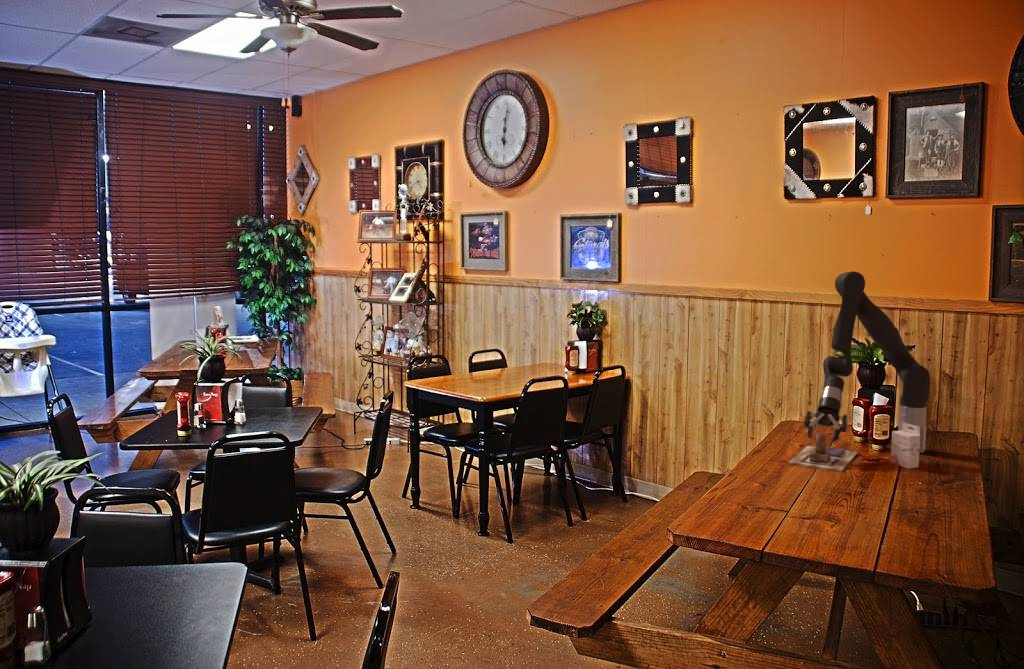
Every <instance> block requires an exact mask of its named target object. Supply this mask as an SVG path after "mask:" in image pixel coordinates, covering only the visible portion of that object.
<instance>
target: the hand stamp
mask: <svg viewBox="0 0 1024 669" xmlns="http://www.w3.org/2000/svg"><path fill="white" fill-rule="evenodd" d="M815 447H816V448H815V450H813V451H812V452H811V453H810V459H809V461H811V462H818V463H825V464H827V463H828V462H829V461H830V460H831V452H825V451H826V447H827V434H824V433H816V434H815Z"/></svg>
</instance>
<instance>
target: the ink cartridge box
mask: <svg viewBox="0 0 1024 669" xmlns="http://www.w3.org/2000/svg"><path fill="white" fill-rule="evenodd" d="M908 427H912V428H914V430H912V429H908ZM919 449H920V427H919V426H915V425H911V424H908V423H904V422H902V430H899V431H898V430H893V431H892V430H891V443H890V461H889V462H890V464H894V465H896V466H899V467H902V468H906V469H909V470H910V469H916V468H919V464H920V462H919V461H920V453H919Z"/></svg>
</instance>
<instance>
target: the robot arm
mask: <svg viewBox="0 0 1024 669" xmlns="http://www.w3.org/2000/svg"><path fill="white" fill-rule="evenodd" d="M865 279H866V278H865V277H864V275H863V274H862V273H860V272H858V271H847V272H846V271H845V272H842V273H840V274H838V275H837V277H836V278H835V281H834V288H835V290H836V292H837V293H838V295H839V296H840V297H841V305H840V310H839V313H838V315H837V317H836V321H835V323H834V327H833V331H832V337H831V343H830V344H831V345H830V346H831V347H830V348H831V349H832V350H834V351H836V352H840V353H842V354H843V357H842V356H841V357H840V356H834V355H829V356H827V357H825V358H824V360H823V363H822V366H823V376H824V379H823V380H824V382H823V387H822V391H821V394H820V398H819V401H818V406H817V410H816V412H815V413H814V412H811V411H810V410H809V411H807V412H806V415H805V420H804V421H803V423H804V427H805V429H807V433H806V434H807V436H808V438H809V439H812V438H813V434H814V429H815V428H818V427H820V426H822V427H833V429H834V435H833V442H837V441H838V440H839V439H840V435H841V433H846V432H847V426H848V416H847V414H843V415H840V411H841V406H842V403H843V393H844V392H843V391H844V388H845V380H844V379H843V378H842V377H845V378H847V377H850V376H851V375H852V373H853V372H854V371H853V370H854V365H853V359H852V342H853V336H854V331H855V330H854V329H855V323H856V317H857V318H858V320H859V321H860V323H861V324H862V326H863V328H864V330H866V332H867V334H868V335H869V336H870V338H871V339H872V341H873V342H874V343H875V344H876V346H877V347H878V349H879V350H881V352H882V353H883V354H884V355H885V356H886V357H887V359H888V360H889V362H890V363H891V364H892V366H893V367H894V370H895V371H896V373H897V375H898V378H899V379H900V381H901V382H902V384H903V385H902V393H901V396H900V398H899V409H898V411H899V412H898V427H897V429H898V430H897V431H899V430H902V422H904V423H908V424H911V425H915V426H919V427H920V449H919V454H923V453H924V452H925V451H926V439H927V438H926V436H927V425H926V423H927V410H928V409H927V408H928V407H927V406H928V405H927V404H928V400H929V398H930V387H931V374H930V372H929V370H928V369H927V367H925V366H923V365H921V364H920V363H919V362H918V361H917V360H916V359H915V358H914V356H913V355H912V354H911V353H910V352H909V350H908V349H907V347H906V345H905V343H904V340H903V338H902V335H901V334H900V332H899V330H898V329H897V327H896V325H895V324H894V322H893V321H892V320H891V318H890V317H889V316H888V315H887V314H886V313H885V312H884V311H883V310H882V309H881V308H880V307H879V306H877V305H876V304H875V303H874V302H873V301H872V300H871V299H870V298H869V297H868V295H867V293H866V292H865V287H866V280H865ZM814 418H815V419H814ZM811 421H812V422H811ZM838 421H840V422H841V426H839V424H838ZM908 429H912V430H914V428H912V427H908Z"/></svg>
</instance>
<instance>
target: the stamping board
mask: <svg viewBox="0 0 1024 669" xmlns="http://www.w3.org/2000/svg"><path fill="white" fill-rule="evenodd" d="M815 448H816V446H815V445H814V446H812V445H807V446H805V447H804V448H803V449H802V450H801V451H800V452H799V453H798V454H796V455H795V456H793V458H792V459H790V460H789V461H788V465H791V466H797V467H798V466H799V467H804V468H812V469H819V470H824V471H832V472H843V471H844V470H845V469H846V467H847V466H849V464H850V463H851V462H852V461H853V460H854V458H855V457H856V456H857V455H858V451H850V450H846V448H840V447H839V448H838V447H831V446H826V451H825V452H831V460H830V461H829V462H828V463H827V464H825V463H818V462H811V461H809V459H810V453H811V452H812V451H813V450H815Z"/></svg>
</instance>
